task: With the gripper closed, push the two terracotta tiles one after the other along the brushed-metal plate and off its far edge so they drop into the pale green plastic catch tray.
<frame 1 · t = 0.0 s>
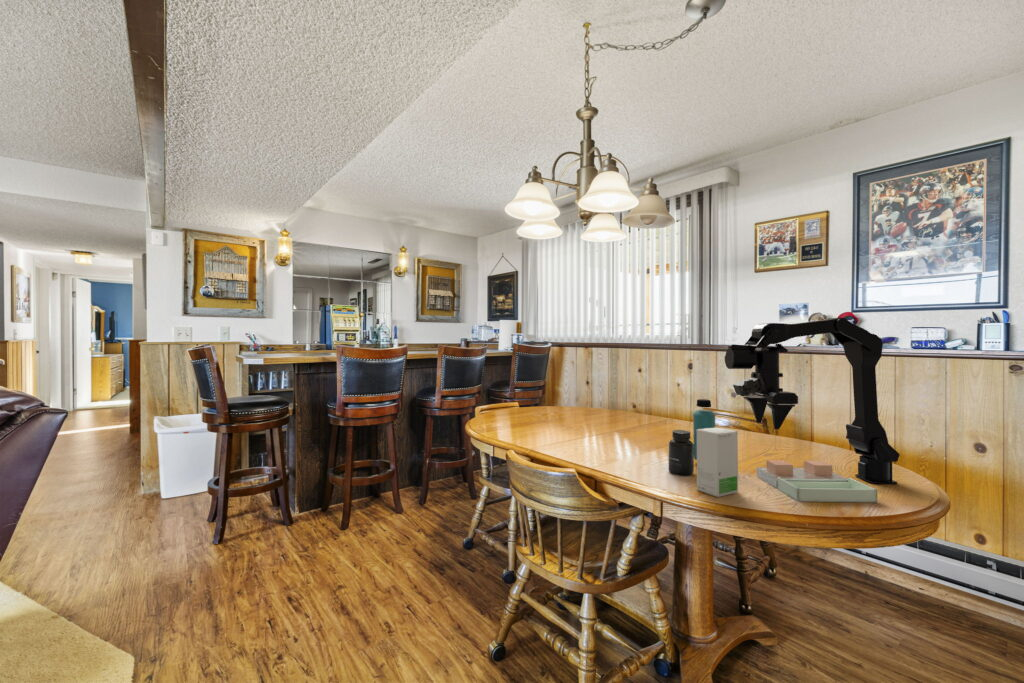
hand: (767, 425, 118), 15 cm above the table, fingers open, 9 cm apart
tile b: (779, 471, 117), point 2 cm above the table, touching plate
beverage bottle: (704, 464, 133), on the table
plate: (801, 482, 116), on the table
tray: (825, 495, 106), on the table
supplement bottle: (681, 473, 125), on the table
skincare box: (716, 491, 110), on the table
tile a: (817, 472, 116), point 2 cm above the table, touching plate
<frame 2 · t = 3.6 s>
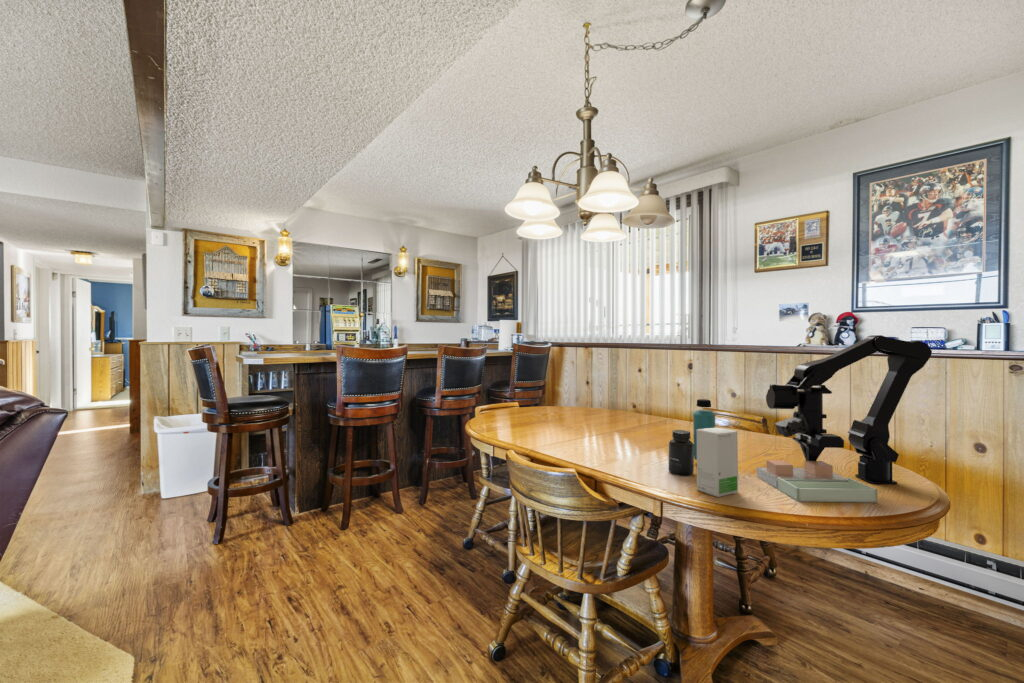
hand: (810, 465, 119), 3 cm above the table, fingers closed
tile a: (818, 472, 116), point 2 cm above the table, touching gripper, plate
everything else where it was.
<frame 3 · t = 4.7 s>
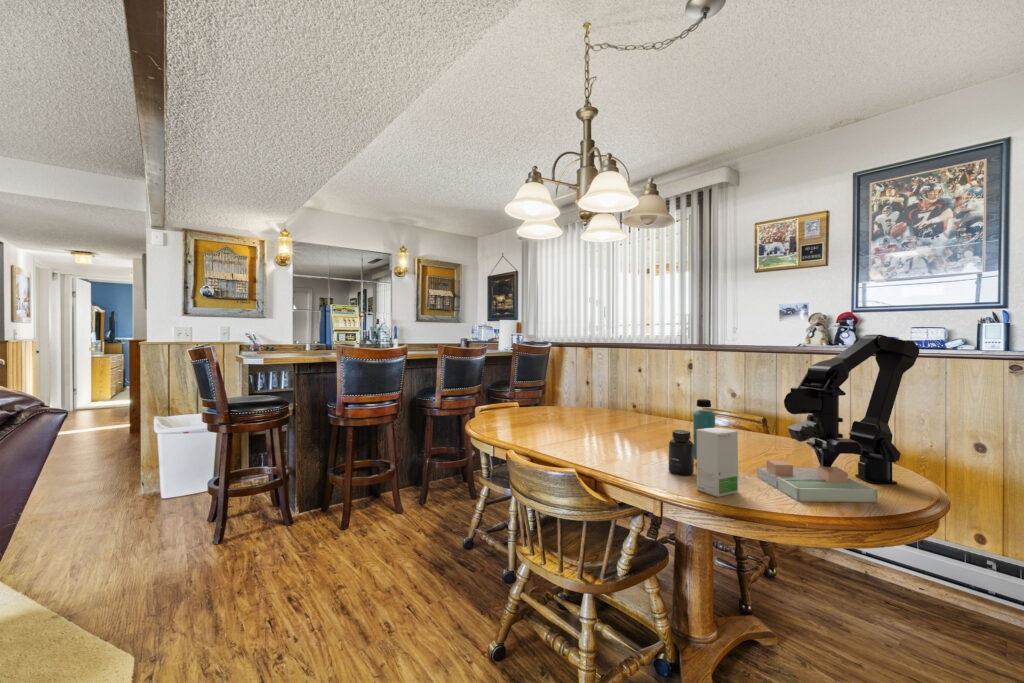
hand: (824, 471, 113), 3 cm above the table, fingers closed
tile a: (832, 479, 110), point 3 cm above the table, touching gripper
everything else where it was.
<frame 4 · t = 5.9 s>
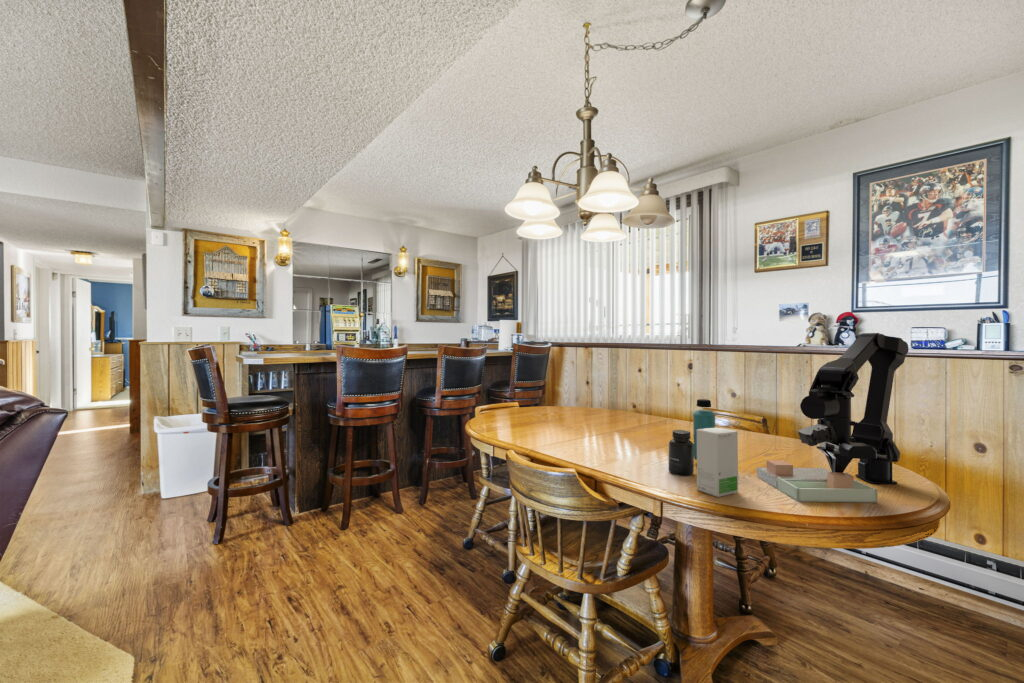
hand: (836, 477, 109), 3 cm above the table, fingers closed
tile a: (836, 481, 108), point 3 cm above the table, tilted 92°, touching gripper, tray
everything else where it was.
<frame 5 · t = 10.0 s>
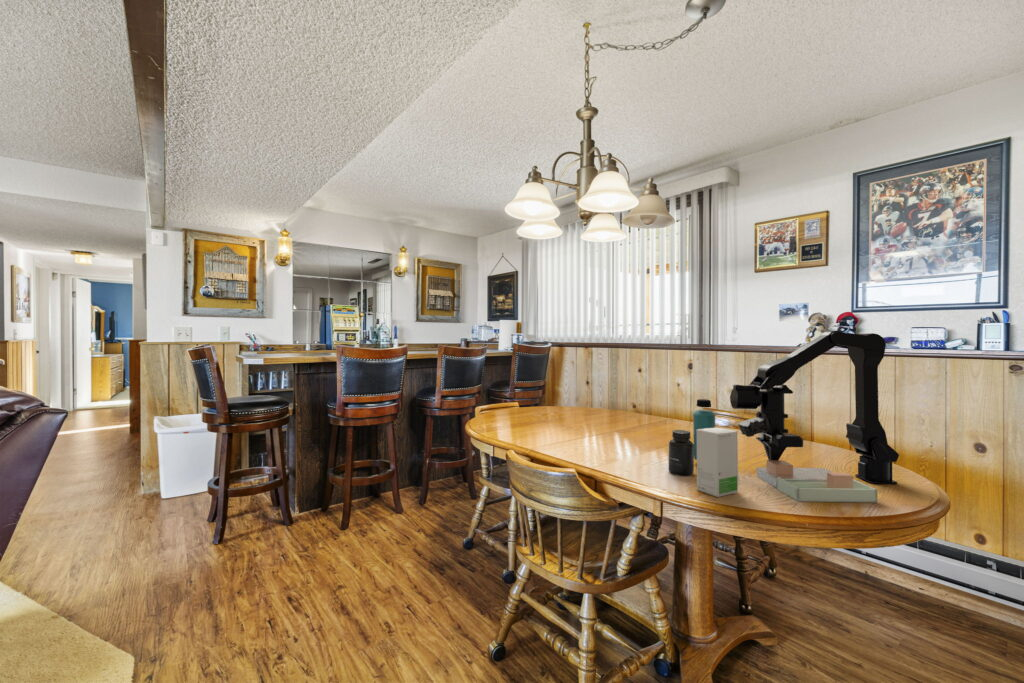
hand: (772, 465, 120), 3 cm above the table, fingers closed
tile b: (779, 471, 117), point 2 cm above the table, touching gripper, plate
tile a: (836, 481, 108), point 3 cm above the table, tilted 90°, touching tray
everything else where it was.
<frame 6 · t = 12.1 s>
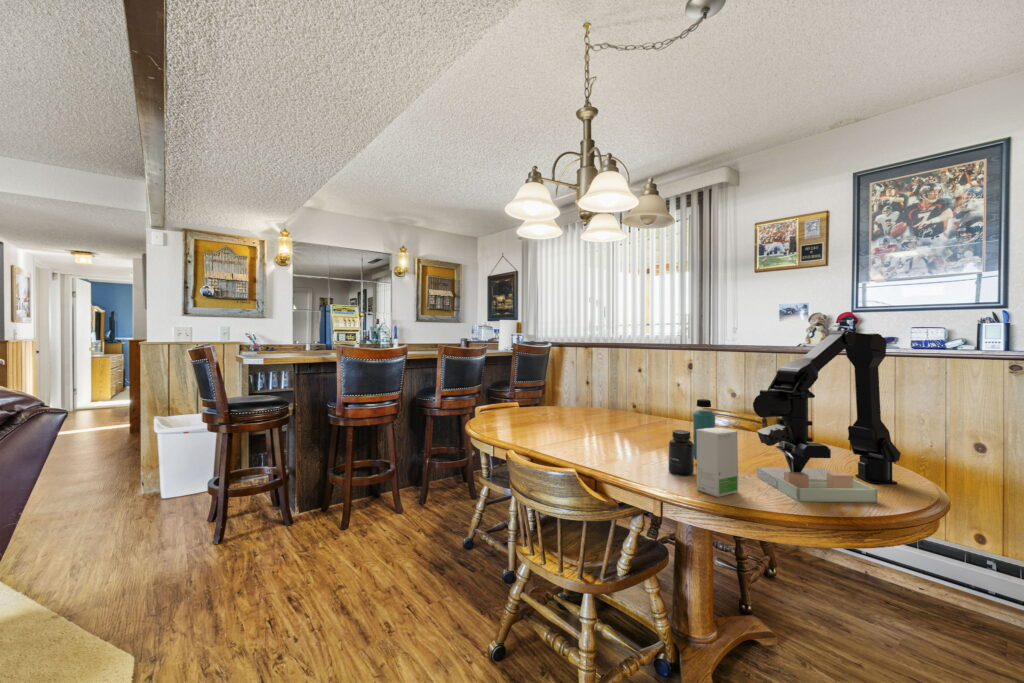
hand: (794, 476, 110), 3 cm above the table, fingers closed
tile b: (793, 481, 109), point 3 cm above the table, tilted 90°, touching gripper, tray
everything else where it was.
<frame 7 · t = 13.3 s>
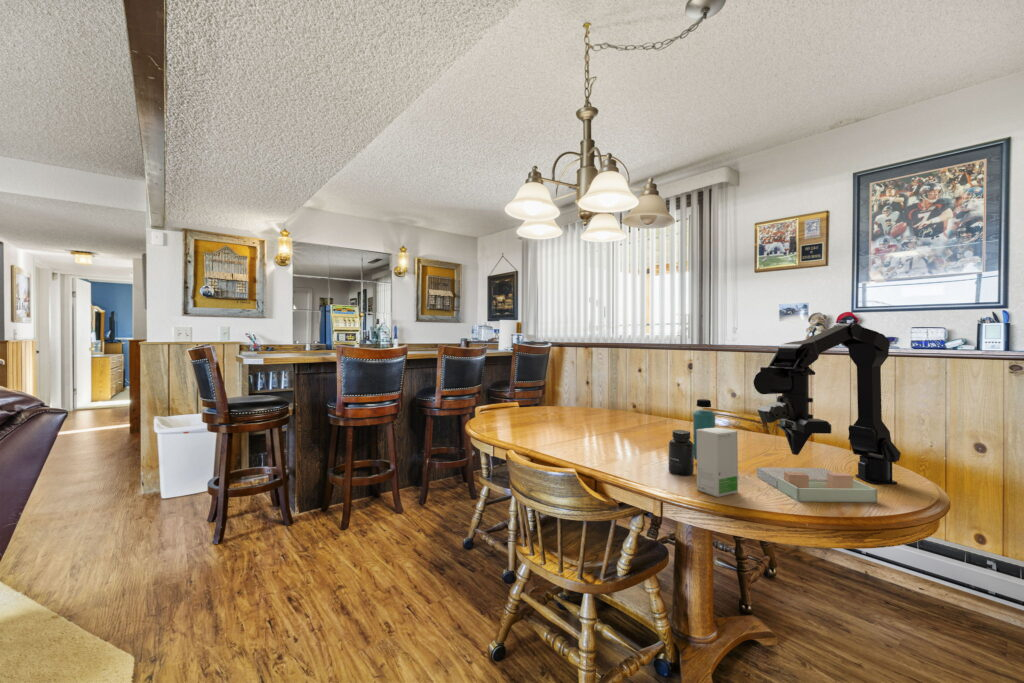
hand: (795, 454, 109), 9 cm above the table, fingers closed
tile b: (793, 481, 109), point 3 cm above the table, tilted 90°, touching tray
everything else where it was.
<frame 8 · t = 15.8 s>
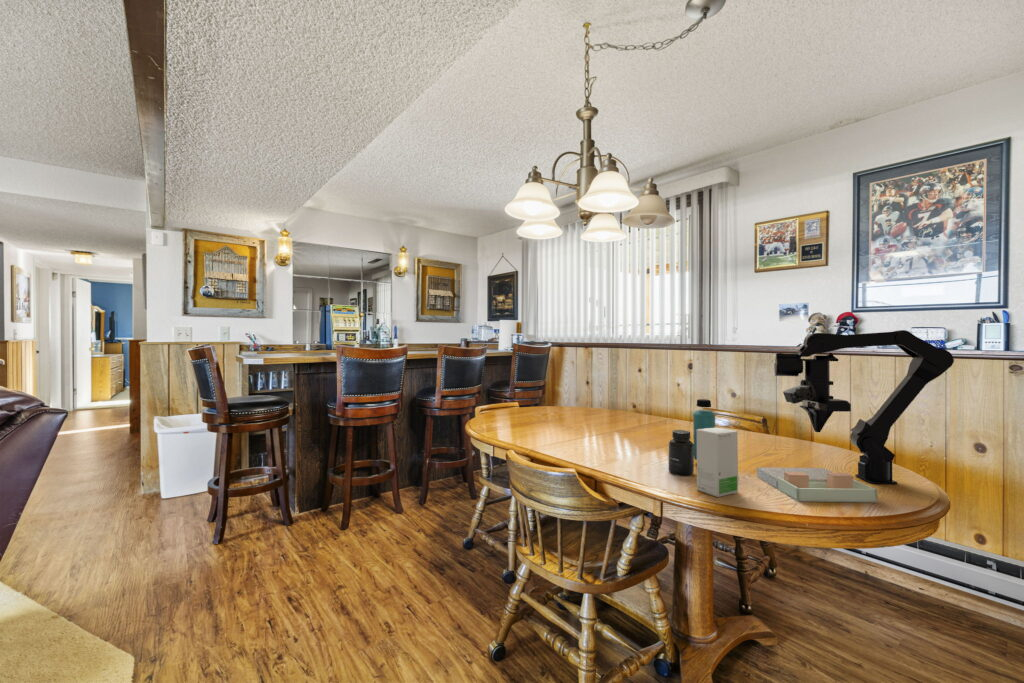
hand: (817, 431, 122), 12 cm above the table, fingers closed
nothing on the table moved.
at the end: tile a inside the target area (5.2 cm from its centre), point 2.6 cm above the table; tile b inside the target area (6.6 cm from its centre), point 2.6 cm above the table; tile a touching tray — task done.
